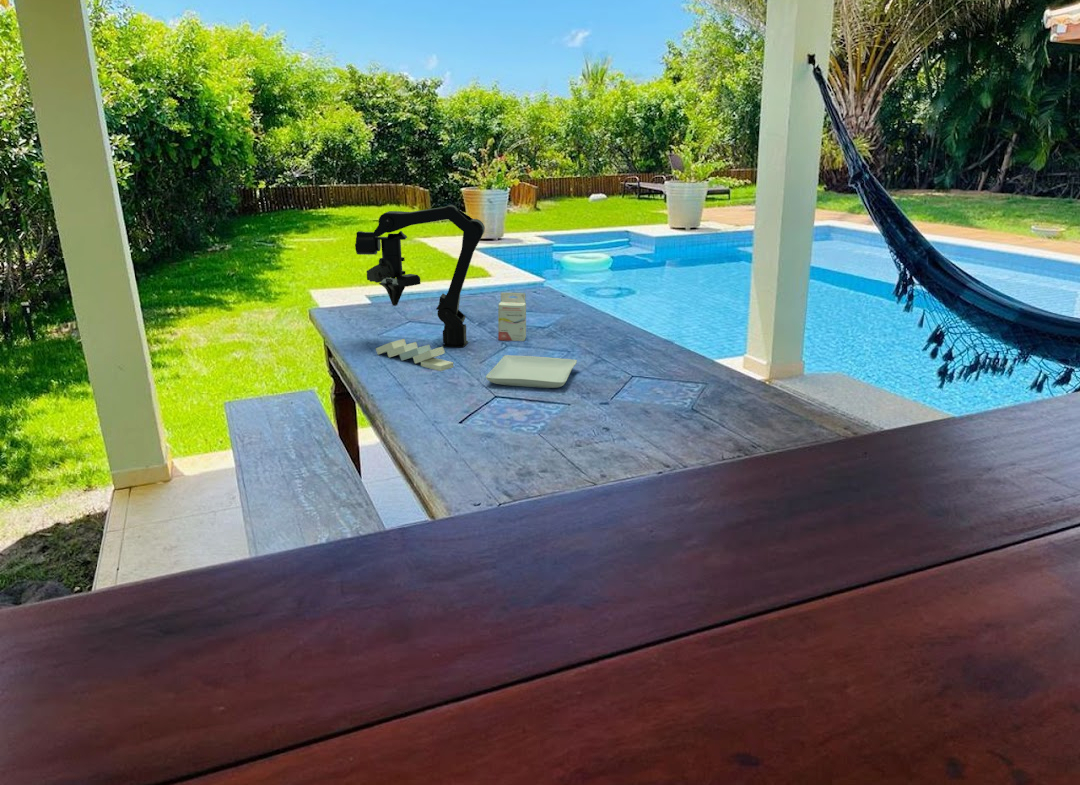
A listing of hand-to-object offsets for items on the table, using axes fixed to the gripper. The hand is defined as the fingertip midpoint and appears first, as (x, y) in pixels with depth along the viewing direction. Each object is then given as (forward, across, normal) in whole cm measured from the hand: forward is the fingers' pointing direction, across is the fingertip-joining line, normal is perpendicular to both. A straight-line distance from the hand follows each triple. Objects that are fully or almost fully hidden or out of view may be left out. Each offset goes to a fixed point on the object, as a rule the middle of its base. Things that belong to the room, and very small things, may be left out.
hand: (394, 305), depth 236 cm
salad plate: (+13, +55, +1) cm, 57 cm away
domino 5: (+12, +23, -8) cm, 28 cm away
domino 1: (+12, +4, -9) cm, 15 cm away
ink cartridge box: (+13, +23, +28) cm, 39 cm away
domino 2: (+12, +9, -9) cm, 17 cm away
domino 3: (+12, +14, -9) cm, 20 cm away
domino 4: (+11, +20, -9) cm, 25 cm away
